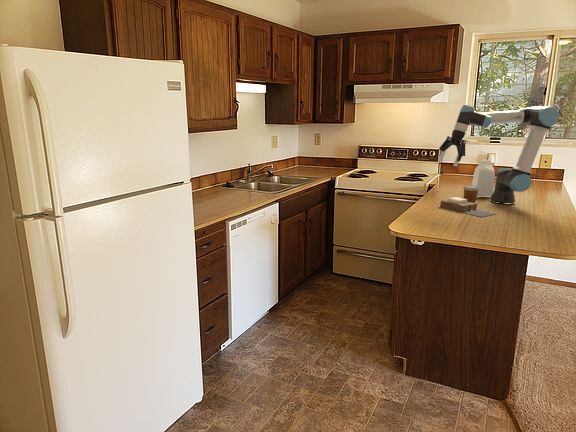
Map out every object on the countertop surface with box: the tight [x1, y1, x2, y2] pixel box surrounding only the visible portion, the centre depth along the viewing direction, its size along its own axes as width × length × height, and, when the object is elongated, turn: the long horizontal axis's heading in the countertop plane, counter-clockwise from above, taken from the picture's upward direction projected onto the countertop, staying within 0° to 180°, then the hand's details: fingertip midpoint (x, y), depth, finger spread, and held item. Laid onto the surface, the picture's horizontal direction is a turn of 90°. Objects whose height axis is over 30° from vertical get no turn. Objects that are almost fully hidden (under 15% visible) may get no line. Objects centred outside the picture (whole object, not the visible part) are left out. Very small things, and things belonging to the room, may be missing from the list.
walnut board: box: [439, 199, 478, 213], centre depth 267 cm, size 14×16×4 cm
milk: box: [471, 159, 496, 196], centre depth 306 cm, size 12×12×26 cm
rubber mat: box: [462, 209, 496, 218], centre depth 255 cm, size 15×12×1 cm
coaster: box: [447, 196, 467, 204], centre depth 267 cm, size 8×8×2 cm
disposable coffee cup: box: [463, 184, 479, 203], centre depth 278 cm, size 10×10×12 cm
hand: (447, 163), depth 269 cm, fingers open, 13 cm apart
